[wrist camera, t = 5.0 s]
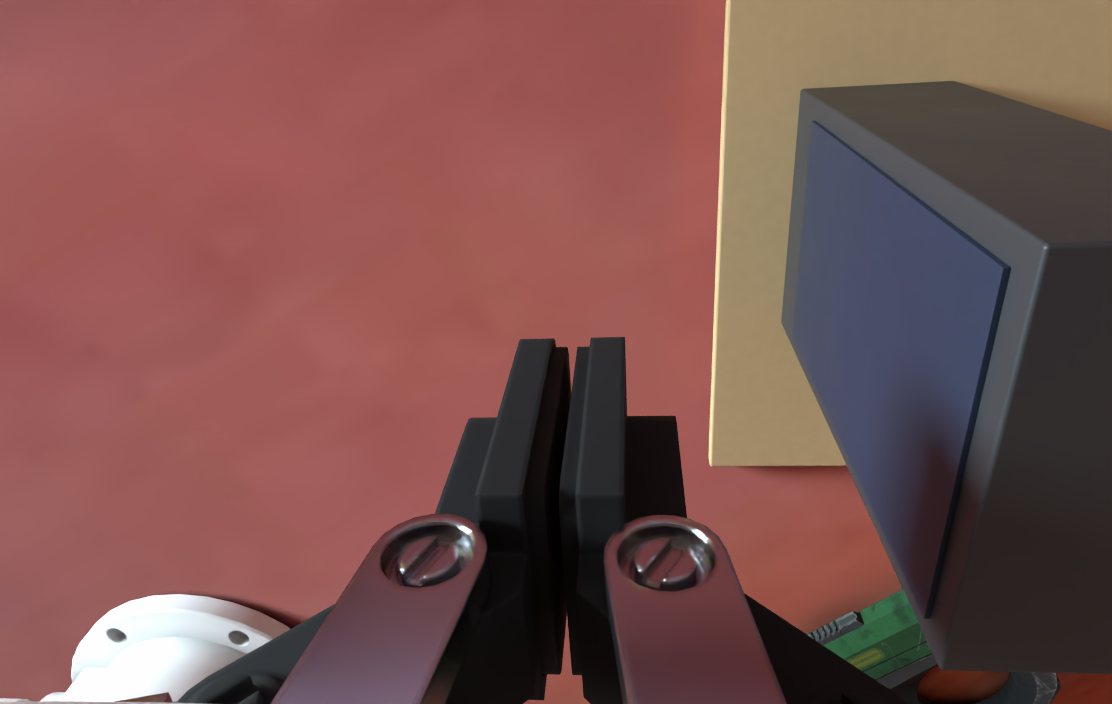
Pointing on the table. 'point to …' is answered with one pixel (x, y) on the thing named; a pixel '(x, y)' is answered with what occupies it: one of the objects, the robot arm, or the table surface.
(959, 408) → the black device
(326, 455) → the table surface
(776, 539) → the table surface
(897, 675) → the gun
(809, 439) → the cork mat
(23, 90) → the table surface
